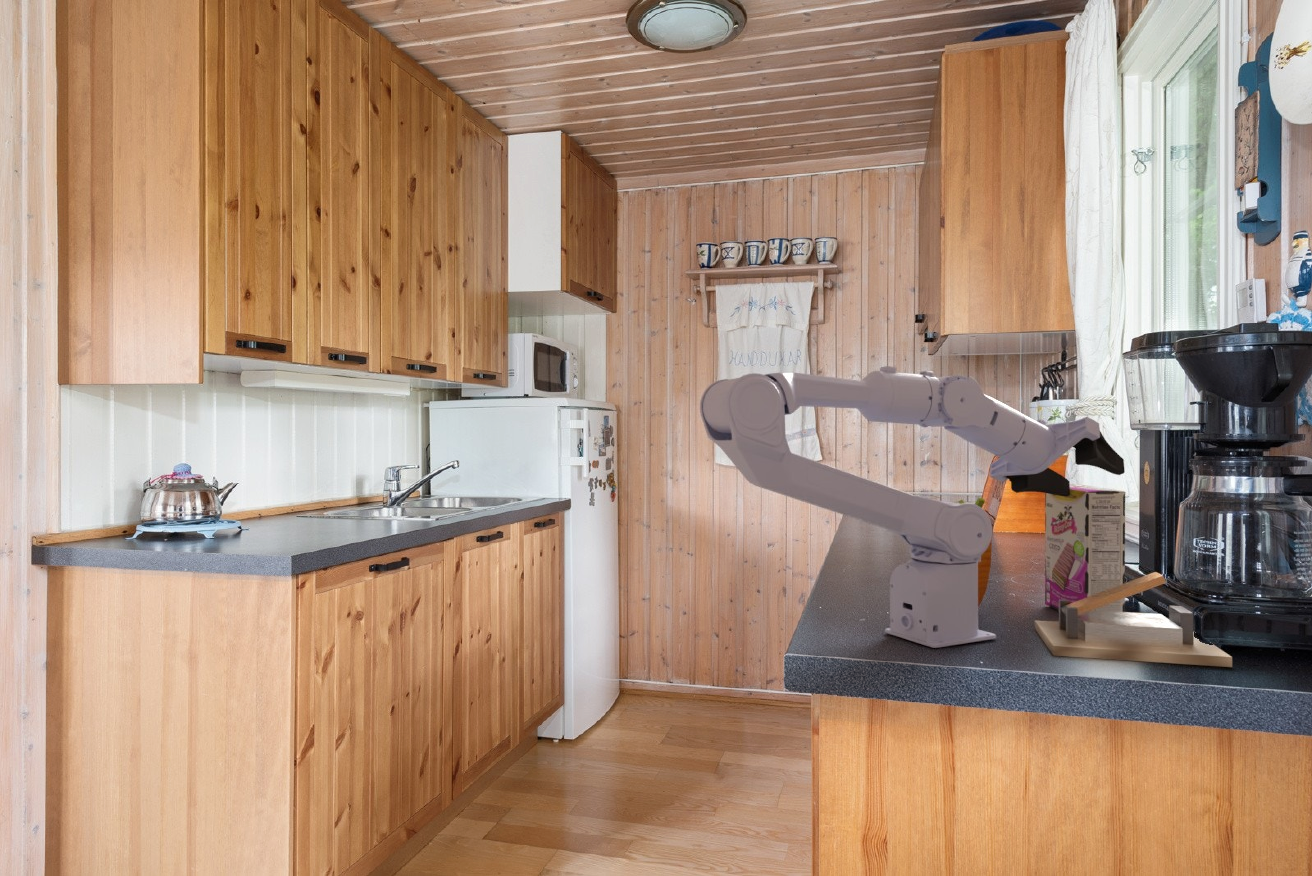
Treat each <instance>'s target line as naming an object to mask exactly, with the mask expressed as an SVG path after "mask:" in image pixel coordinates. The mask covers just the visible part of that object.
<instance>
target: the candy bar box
mask: <svg viewBox="0 0 1312 876" xmlns="http://www.w3.org/2000/svg"><path fill="white" fill-rule="evenodd" d="M1044 495H1045V496H1044V497H1045V500H1044V502H1045V504H1044V505H1045V506H1044V514H1045V515H1044V518H1045V519H1044V526H1045V527H1044V528H1045V530H1044V531H1045V532H1044V535H1045V536H1044V539H1045V547H1044V548H1045V550H1044V551H1045V552H1044V553H1045V555H1044V558H1045V561H1044V562H1045V564H1044V567H1045V568H1044V569H1045V570H1044V575H1045V577H1044V583H1045V584H1044V605H1046V606H1047V607H1050V608H1052V609H1054V610H1056V611H1058V612H1059V599H1060V600H1069V601H1070V604H1071V603H1073V602H1076V601H1079V600H1081V599H1084V598H1087V597H1089V596H1092V595H1095V594H1097V593H1100V592H1103V591H1105V590H1108V589H1111V588H1113V587H1116V586H1119V585H1122V584H1124V583H1126V578H1125V577H1126V572H1125V571H1126V570H1125V569H1126V491H1124V490H1120V489H1111V488H1104V487H1098V486H1092V485H1086V484H1085V485H1084V484H1070V495H1069V496H1066V497H1064V496H1059V495H1054V494H1048V493H1044ZM1125 601H1126V598H1124V599H1121V600H1118V601H1115V602H1113V603H1110V604H1107V605H1105V606H1102V607H1099V608H1096V609H1094V610H1091V611H1111V612H1126V610H1125V608H1126V607H1125V604H1126V602H1125Z"/></svg>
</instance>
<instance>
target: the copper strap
mask: <svg viewBox="0 0 1312 876" xmlns="http://www.w3.org/2000/svg"><path fill="white" fill-rule="evenodd" d="M1166 583H1167V581H1166V578H1165V577H1164V575H1163V574H1160V573H1159V572H1157V571H1154V572H1151V573H1148V574H1146V575H1144V576H1141V577H1138V578H1135V579H1133V580H1130V581H1127V582H1125V583H1124V584H1122V585H1119V586H1116V587H1113V588H1111V589H1108V590H1105V591H1103V592H1100V593H1097V594H1095V595H1092V596H1089V597H1087V598H1084V599H1081V600H1079V601H1076V602H1073V603H1071V604H1068V605H1064V606H1063V607H1062V608H1061V610H1062V612H1063V613H1064V614H1065V615H1066V607H1076V608H1077V609H1078V615H1080V614H1083V613H1086V612H1088V611H1091V610H1094V609H1096V608H1099V607H1102V606H1105V605H1107V604H1110V603H1113V602H1115V601H1118V600H1121V599H1124V598H1125V599H1126V598H1128V597H1131V596H1134V595H1137V594H1139V593H1142V592H1145V591H1147V590H1150V589H1153V588H1155V587H1158V586H1161V585H1165V584H1166Z"/></svg>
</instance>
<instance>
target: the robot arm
mask: <svg viewBox="0 0 1312 876" xmlns="http://www.w3.org/2000/svg"><path fill="white" fill-rule="evenodd" d="M800 407H810V408H811V407H813V408H832V409H833V408H834V409H838V408H839V409H857V410H858V411H859V412H860V414H861V415H862V416H863V417H864V418H865V420H867V421H869V422H875V423H876V422H877V423H891V424H903V425H905V424H907V425H919V426H920V427H922V428H928V427H931V428H932V427H943V428H944V430H946V431H948V432H950V433H951V434H954V435H956V436H958V437H960V438H962V440H964V441H967V442H969V443H970V444H972V445H974V446H976V447H978V448H980V449H983V450H984V451H986V452H988V453H990V454H991V455H994V456H996V457H998V458H997V460H995V461H994V462H992V463H990V465H989V466H990V471H989V472H990V473H989V477H990V478H991V479H994V480H996V481H997V482H999V483H1004V482H1006V481H1008V480H1009V482H1010V489H1011V491H1012V492H1014V493H1016V494H1017V493H1019V494H1020V493H1029V492H1030V493H1043V494H1045V493H1048V494H1054V495H1059V496H1064V497H1066V496H1069V495H1070V480H1069V479H1068V478H1066V477H1065V476H1063V475H1061V474H1060V473H1058V472H1056V471H1055V470H1053V469H1051V468H1049V467H1050V466H1052V465H1053V464H1054V463H1056V461H1057V460H1059V459H1060V458H1061V457H1062V456H1063V455H1065V454H1066V453H1068V452H1069V450H1071V449H1072V448H1074V459H1075V463H1074V464H1076V465H1077V466H1082V465H1083V466H1090V467H1091V466H1092V467H1095V468H1099V469H1101V470H1103V471H1107V473H1111V474H1112V475H1117V476H1121V475H1123V474H1125V460H1124V458H1123V457H1122V456H1121V455H1119V454H1118V453H1117V452H1116V450H1115V449H1114V448H1112V446H1111V445H1110V444H1109V443H1108V441H1107V440H1106V438H1105V437H1104V435H1103V433H1102V431H1101V430H1100V429H1101V428H1100V423H1099V422H1098V421H1096V420H1095V419H1092V418H1090V417H1088V416H1085V417H1083V418H1080V419H1078V420H1077V419H1076V420H1072V421H1071V420H1070V421H1064V422H1057V423H1051V424H1047V422H1046V420H1043V419H1042V418H1039V419H1037V420H1035V419H1033V418H1031V417H1029V416H1028V415H1026V414H1023V413H1022V412H1020V411H1018V410H1017V409H1015V408H1013V407H1010V406H1009V405H1007V404H1005V403H1003V402H1001V401H999V400H997V399H995V398H994V397H992V396H989V395H987V394H985V393H984V392H983V389H982V387H981V385H980V384H979V383H978V381H977V380H976V379H975V378H974V377H973V376H971V375H970V376H968V377H965V376H963V375H958V374H957V375H948V376H940V377H936V376H934V371H931V370H930V371H929V370H922V371H920V372H919V373H918V374H917V373H909V372H908V373H906V372H897V367H896V366H891V365H890V366H889V365H886V366H881V367H879V370H873V371H871V372H870V373H868V374H866V376H865V377H864V378H862V379H861V380H857V379H849V378H848V379H847V378H841V377H833V376H826V375H816V374H809V373H801V372H792V371H791V372H787V371H786V372H773V373H765V374H762V373H756V372H755V373H754V372H753V373H747V374H744V375H742V376H740V377H735V378H731V379H728V378H723V379H720V380H716V381H714V382H712V383H711V384H710V385H708V387H706V389H705V390H704V391H703V393H702V395H701V398H700V402H699V412H700V417H701V420H702V423H703V426H704V429H705V433H706V435H707V438H708V439H710V440H711V441H712V442H713V443H714V444H716V445H717V446H718V447H719V449H721V450H722V451H723V452H724V454H725V455H726V457H727V458H728V459H729V460H730V461H731V463H732V464H733V465H734V466H735V467H736V469H737V470H738V471H739V473H741V475H742V477H743V478H744V479H746V481H747V482H748V483H750V484H752V486H755V487H759V488H761V489H764V490H767V491H771V492H773V493H775V494H776V493H777V494H780V495H783V496H785V497H788V498H791V499H794V500H798V501H800V502H804V503H806V504H809V505H813V506H816V507H819V508H822V509H824V510H828V511H831V512H834V513H837V514H840V515H843V516H846V517H849V518H852V519H855V520H857V521H861V522H864V523H866V524H868V525H869V524H870V525H873V526H875V527H879V528H882V529H885V530H886V531H887V532H889V533H892V534H894V535H897V536H898V537H900V538H901V539H902V540H903V542H905V544H907V546H909V547H908V548H909V549H908V553H909V555H910V559H909V560H908V561H907V562H904V563H901V564H899V565H896V567H895V568H894V569H893V571H892V573H891V575H890V578H889V627H887V628H885V629H884V631H885V634H887V635H888V634H889V635H893V636H894V637H898V638H901V639H905V640H907V641H910V642H913V643H917V644H919V645H920V644H921V645H923V646H925V647H930V648H933V649H934V648H935V649H937V648H943V647H944V648H945V647H951V646H957V645H963V644H968V643H969V644H970V643H975V642H983V641H989V640H994V639H997V634H996V633H992V632H988V631H986V630H981V629H979V607H978V562H981V555H982V554H983V553H984V552H985V551H986V549H987V548H988V546H989V544H990V541H991V537H992V538H993V525H992V521H991V518H990V516H989V514H988V513H987V512H986V510H985V509H983V507H982V508H981V507H979V506H978V505H975V503H972V502H971V503H966V502H964V503H959V502H951V501H943V500H936V499H932V498H928V497H923V496H919V495H915V494H911V493H909V492H907V491H906V492H905V491H904V490H900V489H897V488H895V487H892V486H889V485H886V484H883V483H881V482H877V481H874V480H871V479H868V478H866V477H863V476H860V475H858V474H857V475H856V474H855V473H851V472H849V471H847V470H846V471H845V470H843V469H839V468H837V467H834V466H832V465H829V464H826V463H822V462H820V461H817V460H814V459H811V458H808V457H806V456H803V455H800V454H797V453H795V452H792V451H791V449H790V446H789V443H788V440H787V435H786V415H787V416H788V415H791V414H793V413H795V412H796V411H797V410H798V409H799V408H800Z"/></svg>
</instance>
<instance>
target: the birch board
mask: <svg viewBox="0 0 1312 876" xmlns="http://www.w3.org/2000/svg"><path fill="white" fill-rule="evenodd" d="M1034 630H1035V631H1036V633H1037V634H1038V635H1039V637H1040V638H1041V640H1042V641H1043V643H1044V644H1045V645H1046V647H1047V648H1048V650H1049V651H1050V652H1051V654H1052V656H1055V657H1072V658H1084V659H1085V658H1087V659H1102V660H1117V661H1118V660H1120V661H1131V662H1132V661H1133V662H1149V663H1162V664H1163V663H1164V664H1178V665H1194V666H1195V665H1196V666H1210V667H1223V668H1224V667H1225V668H1226V667H1227V668H1233V656H1231V654H1228V653H1227V652H1225V651H1224V650H1223V649H1221V648H1219V647H1217V645H1215V644H1213V645H1209V644H1205V643H1202V642H1200V641H1199V639H1197V638H1195V637H1194V645H1187V644H1183V648H1173V647H1156V646H1140V645H1123V644H1107V643H1090V642H1085V641H1084V640H1083V639H1082V638H1081V637H1080V636H1079V635H1078V639H1067V637H1066V630H1060V629H1059V621H1057V620H1056V621H1055V620H1054V621H1053V620H1038V619H1037V620H1034Z"/></svg>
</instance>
